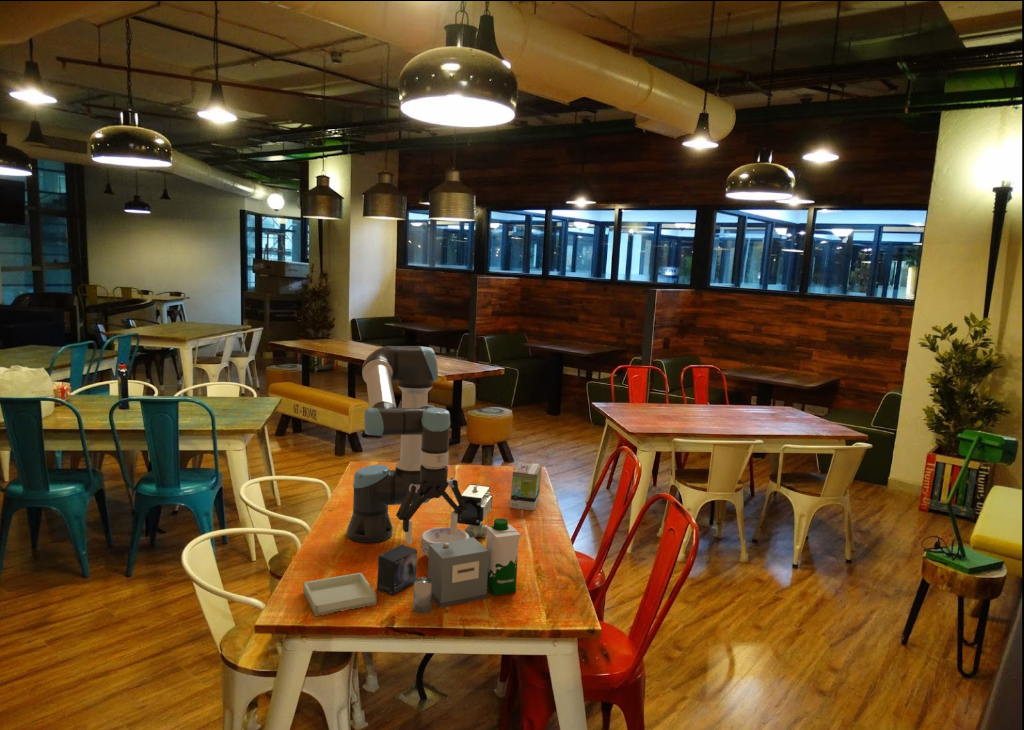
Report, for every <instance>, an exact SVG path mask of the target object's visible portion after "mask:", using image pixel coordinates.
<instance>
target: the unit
mask: <svg viewBox="0 0 1024 730" xmlns="http://www.w3.org/2000/svg"><path fill="white" fill-rule="evenodd" d="M488 557H489V550H487V549H486V547H485V546H484V545H483V544H482V543H481V542H479V540H477V539H476V538H474V537H473V538H467V539H461V540H455V541H448V542H442V543H436V544H429V558H428V557H427V559H428V565H427V577H428V578H431V579H432V580H433V585H432V601H433V602H434V603H435V604H436V606H437V607H438V608H439V609H441V608H446V607H447V608H448V607H452V606H457V605H462V604H464V603H465V604H466V603H471V602H475V601H479V600H484V599H489V598H490V594H489V593H488V591H487V590H488V588H487V577H488Z"/></svg>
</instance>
